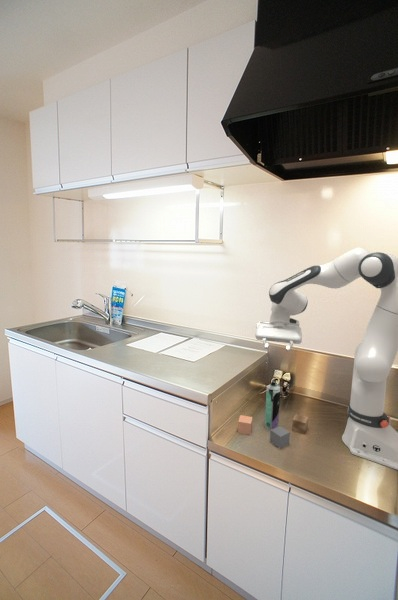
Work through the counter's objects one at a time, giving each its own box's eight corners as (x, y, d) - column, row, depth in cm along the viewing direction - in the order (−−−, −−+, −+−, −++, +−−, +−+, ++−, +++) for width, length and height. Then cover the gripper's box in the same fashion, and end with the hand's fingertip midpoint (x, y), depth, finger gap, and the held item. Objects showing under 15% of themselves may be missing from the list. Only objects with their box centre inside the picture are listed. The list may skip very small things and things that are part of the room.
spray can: (278, 431, 121) (281, 385, 118) (264, 429, 122) (267, 383, 119) (277, 424, 127) (280, 379, 123) (264, 422, 128) (266, 378, 124)
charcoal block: (289, 444, 113) (289, 432, 113) (280, 449, 111) (280, 436, 110) (278, 437, 117) (279, 425, 117) (269, 442, 115) (270, 430, 114)
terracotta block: (251, 428, 124) (252, 417, 123) (250, 435, 119) (251, 423, 118) (239, 426, 125) (240, 415, 124) (238, 433, 120) (238, 421, 119)
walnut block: (307, 428, 124) (308, 417, 123) (304, 434, 119) (305, 423, 119) (295, 425, 126) (295, 414, 125) (292, 430, 122) (292, 419, 121)
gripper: (256, 317, 140) (252, 343, 132) (302, 321, 134) (301, 348, 126) (257, 324, 145) (253, 350, 137) (301, 328, 138) (300, 355, 131)
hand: (277, 349), depth 131 cm, fingers open, 8 cm apart
